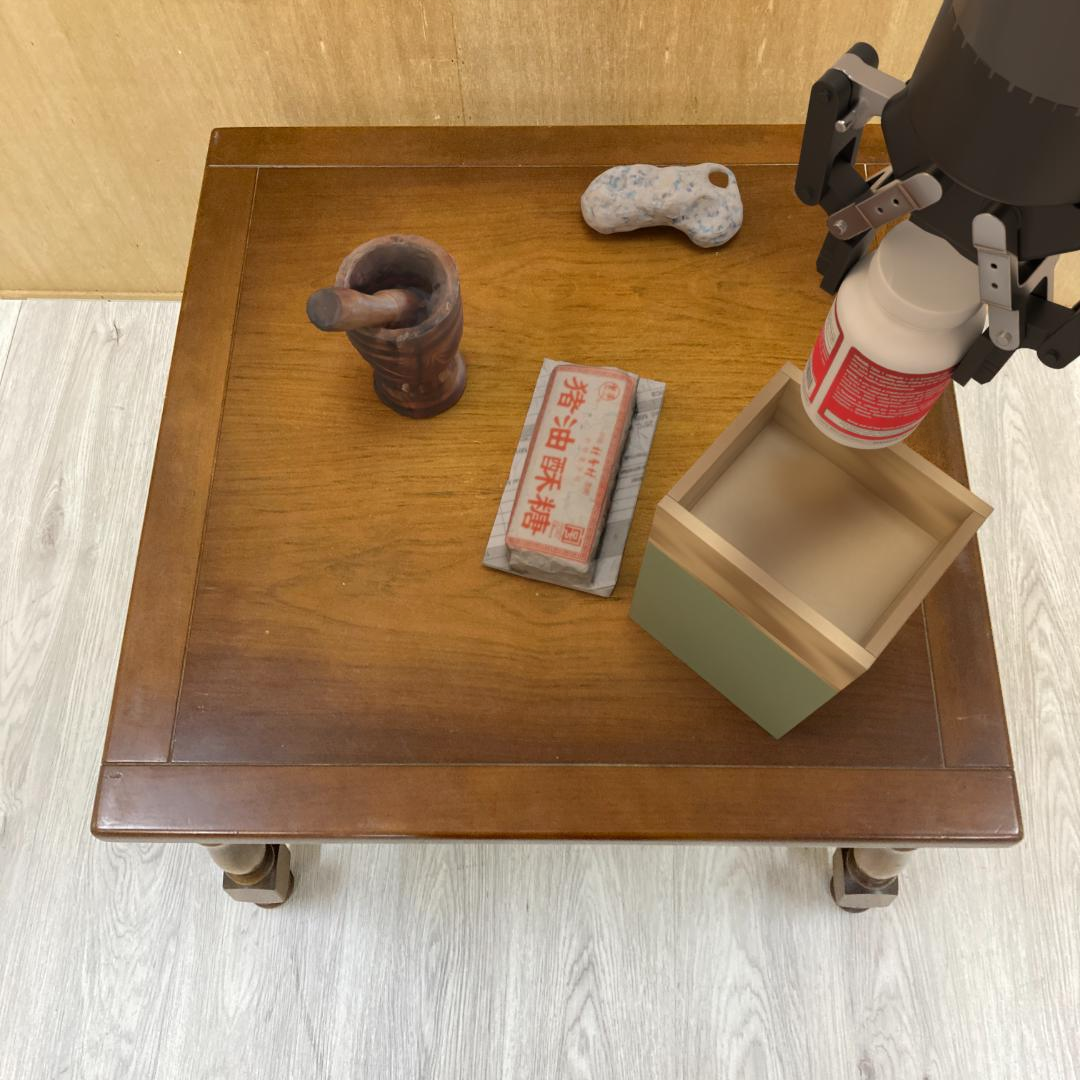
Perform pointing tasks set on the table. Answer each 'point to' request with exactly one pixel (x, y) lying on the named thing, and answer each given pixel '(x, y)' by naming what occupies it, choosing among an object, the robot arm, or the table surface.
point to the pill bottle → (892, 339)
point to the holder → (815, 531)
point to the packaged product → (576, 476)
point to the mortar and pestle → (400, 320)
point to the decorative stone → (665, 201)
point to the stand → (724, 646)
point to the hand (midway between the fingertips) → (902, 322)
